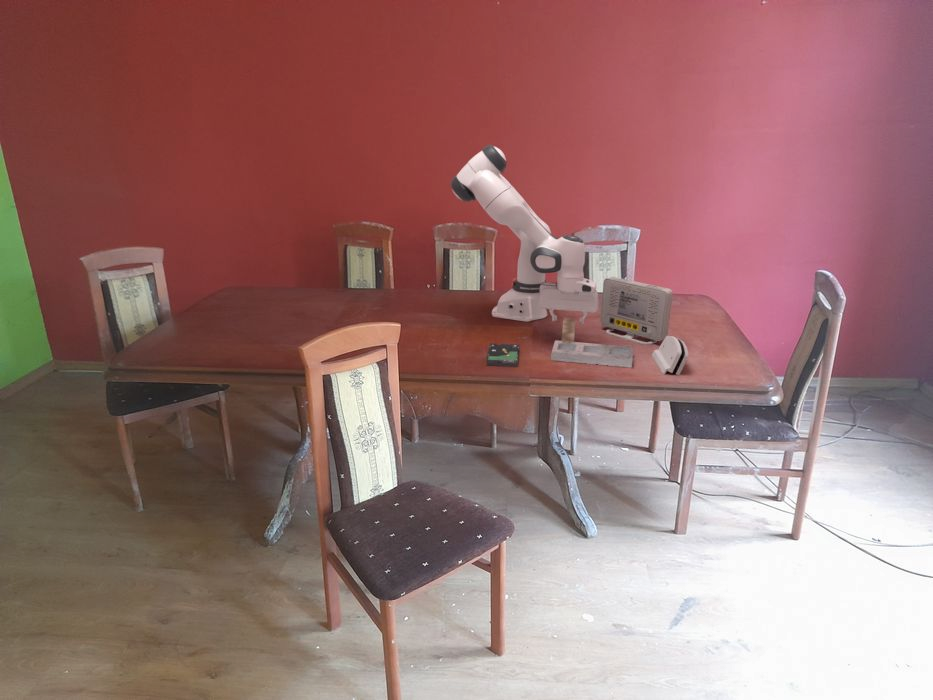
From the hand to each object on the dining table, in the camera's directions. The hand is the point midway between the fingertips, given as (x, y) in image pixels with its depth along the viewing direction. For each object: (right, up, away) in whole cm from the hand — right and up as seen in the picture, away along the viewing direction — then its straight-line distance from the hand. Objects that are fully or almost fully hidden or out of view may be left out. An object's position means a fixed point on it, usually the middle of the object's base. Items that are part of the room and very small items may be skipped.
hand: (567, 321), depth 209 cm
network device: (+25, -5, +10) cm, 27 cm away
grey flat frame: (+7, -12, -9) cm, 16 cm away
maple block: (0, -8, +3) cm, 8 cm away
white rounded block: (+31, -15, -14) cm, 37 cm away
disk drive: (-23, -13, -8) cm, 28 cm away
